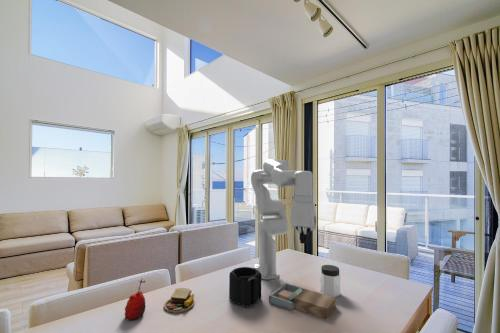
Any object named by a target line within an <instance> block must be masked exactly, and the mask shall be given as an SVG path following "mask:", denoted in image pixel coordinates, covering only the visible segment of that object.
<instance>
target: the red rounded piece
mask: <svg viewBox="0 0 500 333" xmlns="http://www.w3.org/2000/svg"><path fill="white" fill-rule="evenodd" d="M138 282H139V286H138V289H137V292H136V293H134V294H131V295H129V299H128V300H127V302H126V304H125V307H124V319H125V320H128V321H136V320H139V319H141V318H143V316H144V314H145V311H146V307H147V306H146V298H145V296H144V294H143V291H141V285H142V283H146V280H145V279H144V280H143V278H141V280H138Z"/></svg>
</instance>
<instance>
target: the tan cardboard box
mask: <svg viewBox="0 0 500 333" xmlns="http://www.w3.org/2000/svg"><path fill="white" fill-rule="evenodd" d="M336 308H337V298H336V297H331V296H328V295H325V294H323V293H322V292H317V291H314V290H311V289H307V288H305V289H304V290H303V291H302V292H301V293H300V294H299V295H297V296H296V297H295V298H294V309H296V310H299V311H302V312H305V313H308V314H311V315H313V316H317V317H320V318H323V319H326V320H328V319H329V318H330V316H331V315H332V313H333V312H334V310H335V309H336Z"/></svg>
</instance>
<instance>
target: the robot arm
mask: <svg viewBox="0 0 500 333" xmlns="http://www.w3.org/2000/svg"><path fill="white" fill-rule="evenodd" d="M313 175H314V174H313V172H312V171H310V170H290V164H289V162H288V161H287V160H285V159H274V158H273V159H271V158H270V159H267V160H265V161H264V162H263V165H262V169H256V170H253V171H252V173H251V176H250V183H251V186H252V188H253V192H254V194H255V200H256V206H257V212H258V214H259V216H261V217H264V218H261V219H260V220H258V222H257V231H258V242H259V243H258V248H259V250H258V251H259V252H258V254H259V255H258V261H259V262H258V264H254V266H253V268H254V269H257V270H258V271H259V272H260V273H261V274H262V277H261V280H266V281H267V280H268V281H272V280H276V279H277V278H279V277H280V276H279V275H280V273H279V272H278V270H277V241H275V238H273V236H280V235H286V234H287V233H288V232H289V222H288V217H287V212H286V208H285V207H286V206H285V204H284V202H283V201H282V200H281V199H272V198H271V193H270V190H269V189H268V188H267V186H265V185H276V186H277V187H281V188H294V195H293V196H292V197H291V198H292V200H293V202H292V206H291V212H290V225H291V228H293V229H295V230H296V231H297V233H298V234H299V244H303V245H305V244H307V242H308V240H309V238H308V237H309V235H308V234H309V233H310V232H312V231H313V232H314V231H316V230H317V226H316V225H317V213H316V206H315V203H314V202H313V200H314V199H313V198H314V196H313V194H314V192H313V189H314V187H313V184H314V183H313V182H314V181H313V180H314V179H313V178H314V176H313ZM266 217H267V218H266Z"/></svg>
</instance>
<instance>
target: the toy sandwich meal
mask: <svg viewBox="0 0 500 333" xmlns="http://www.w3.org/2000/svg"><path fill="white" fill-rule="evenodd" d="M194 298H195V294H194V293H192V289H190V288H185V287H177V288H175V290H174V292H173V293H172V295H171V296H170V299H168V300H166V301H165V302H164V304H163V308H164V310H166V311H168V312H170V313H176V314H178V313H184V312H186V311H188V310H190V309H191V308H192V307H194V305H195V300H194Z"/></svg>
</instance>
